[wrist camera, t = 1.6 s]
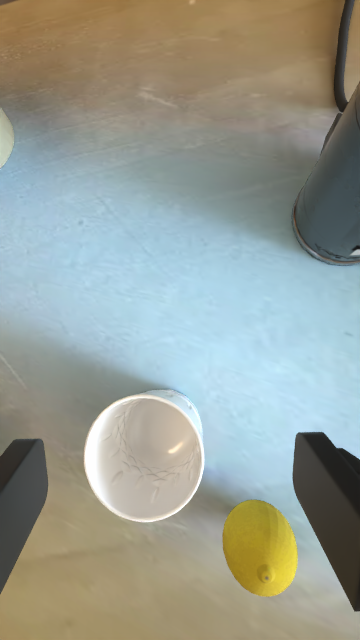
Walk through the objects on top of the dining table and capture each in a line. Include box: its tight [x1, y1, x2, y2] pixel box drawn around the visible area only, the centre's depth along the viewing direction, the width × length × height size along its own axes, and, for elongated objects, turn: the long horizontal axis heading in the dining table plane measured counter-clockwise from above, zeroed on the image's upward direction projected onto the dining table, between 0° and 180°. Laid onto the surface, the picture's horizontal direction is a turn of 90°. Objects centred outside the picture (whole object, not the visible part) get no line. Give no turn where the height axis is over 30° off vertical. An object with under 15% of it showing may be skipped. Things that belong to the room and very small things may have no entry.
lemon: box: [223, 500, 298, 597], centre depth 25 cm, size 6×6×8 cm
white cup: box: [84, 389, 204, 522], centre depth 26 cm, size 8×8×10 cm
